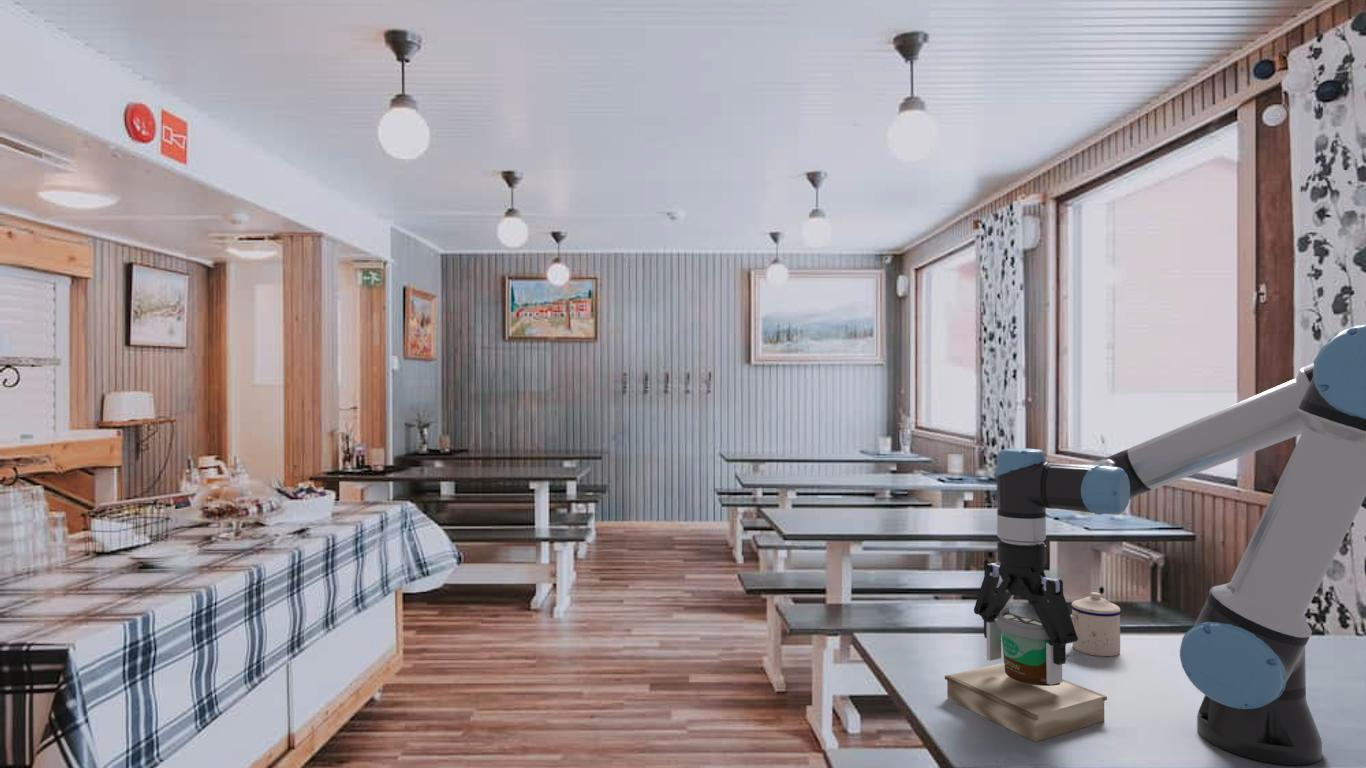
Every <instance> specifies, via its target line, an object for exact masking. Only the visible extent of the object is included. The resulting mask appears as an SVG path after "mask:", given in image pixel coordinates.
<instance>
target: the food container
mask: <svg viewBox="0 0 1366 768" xmlns="http://www.w3.org/2000/svg"><path fill="white" fill-rule="evenodd" d="M996 620H997V623H996V625H997V627H998V628H1000V629H1001V647H1002V654H1003V655H1002V657H1003V663H1004V665H1005V673H1006V674H1007V676H1009V677H1010V678H1012V679H1014V680H1017V681H1020V682H1023V683H1027V684H1032V685H1041V686H1053V685H1060V683H1056V684H1053V685H1050V684H1047V666H1046V643H1048V642H1051V641H1050V639H1049V637H1048V635H1047V633H1046V631H1045V629H1044V627H1043V625H1042V623H1041V621H1040V620H1038V619H1035V618H1031V617H1024V616H1020V615H1017V614H1014V613H1011V612H1010V608H1009V607H1004V608H1003V609H1002V610H1001V611H1000V613H999V615H998V618H997V619H996ZM1056 635H1057V634H1056Z"/></svg>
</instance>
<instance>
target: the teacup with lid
mask: <svg viewBox="0 0 1366 768" xmlns="http://www.w3.org/2000/svg"><path fill="white" fill-rule="evenodd" d="M1070 608H1071V612H1072V613H1071V614H1070V616H1071V619H1072V622H1073V625H1074V628H1075V632H1076V635H1077V638H1078V640H1077V641H1076V642H1072V647H1073V648H1074V649H1075V650H1076V651H1079V652H1080V653H1083V654H1086V655H1091V656H1096V657H1104V656H1109V657H1114V655H1116V656H1118V655H1119V654H1120V653H1121V614H1122V611H1121V608H1120V606H1118V605H1117V604H1115V603H1112V602H1110V601H1109V600H1107V599H1105V598H1102V594H1101V593H1100V592H1096V591H1095V592H1094V591H1093V592H1090V593H1089V596H1086V597H1084V598H1081V599H1076V600H1074V601H1072V603H1071V605H1070ZM1117 654H1118V655H1117Z"/></svg>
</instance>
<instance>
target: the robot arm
mask: <svg viewBox="0 0 1366 768" xmlns="http://www.w3.org/2000/svg"><path fill="white" fill-rule="evenodd" d="M1318 351H1319V352H1317V354H1316V357H1315V359H1314V362H1313V363H1310V364H1308V365H1306V366H1303V367H1301V368H1300V369H1299V371H1298V375H1297V376H1296V377H1295V378H1293V379H1291V380H1289V381H1286V382H1283V383H1281V384H1279V385H1277V386H1274V387H1271V388H1269V389H1267V390H1264V391H1262V392H1261V393H1258V394H1255V395H1253V396H1250V397H1248V398H1245V399H1243V400H1241V401H1239V402H1237V403H1234V404H1232V405H1231V404H1230V405H1229V406H1227V407H1225V408H1222V409H1219V410H1217V411H1215V412H1213V413H1210V414H1208V415H1205V416H1203V417H1200V418H1198V419H1196V420H1193V421H1191V422H1188V423H1186V424H1184V425H1181V426H1179V427H1177V428H1174V429H1171V430H1170V431H1167V432H1165V433H1163V434H1160V435H1158V436H1155V437H1153V438H1150V439H1148V440H1145V441H1144V442H1141V443H1139V444H1136V445H1133V446H1131V447H1130V448H1127V449H1123V450H1122V451H1119V452H1117V453H1114V454H1112V455H1110V456H1107V457H1105V458H1102V459H1099V460H1096V461H1092V462H1086V463H1059V462H1058V463H1056V462H1051V461H1047V458H1046V453H1045V452H1044V450H1042V449H1037V448H1036V449H1035V448H1022V447H1018V448H1017V447H1016V448H1004V449H1003V448H1002V449H1001V450H1000V451H999V452H998V453H997V459H996V474H995V478H996V503H997V506H996V507H997V509H996V513H997V516H996V530H997V531H996V536H997V537H998V538H999V540H998V541H997V544H996V545H997V561H998V562H991V563H986V564H985V565H984V571H983V572H984V576H983V580H982V583H981V587H980V589H979V592H978V595H977V598H976V602H975V605H974V608H973V612H974V614H975V615H978V616H980V617H981V619H982V620H983V635H984V638H985V639H986V660H988V661H995V660H999V659H1002V636H1001V629H1000V628H998V627H997V625H996V623H997V618H998V615H999V613H1000V611H1001V610H1002V609H1004V608H1006V606H1007V604H1008V602H1009V600H1010V599H1011V598H1012V596H1018V597H1020V598H1022V599H1024V600H1027V602H1028V604H1030V605H1032V607H1033V610H1034V611H1035V613H1036V615H1037V617H1038V619H1039V621H1040V622H1041V623H1042V625H1043V627H1044V629H1045V631H1046V633H1047V635H1048V637H1049V639H1050V641H1051V642H1048V643H1046V666H1047V684H1050V685H1053V684H1056V683H1060V682H1062V679H1063V665H1064V664H1066V657H1067V656H1066V653H1067V652H1066V647H1067V644H1073V642H1076V641H1077V640H1078V638H1077V635H1076V632H1075V628H1074V625H1073V622H1072V619H1071V616H1070V615H1071V614H1070V610H1069V608H1068V607H1069V606H1068V605H1067V601H1066V598H1065V595H1064V581H1063V580H1062V579H1061V578H1060V577H1059V578H1057V577H1056V578H1050V577H1047V576H1046V574H1045V568H1046V565H1047V545H1046V544H1045V542H1044V541H1045V540H1046V539H1047V532H1046V531H1047V527H1046V521H1047V519H1046V518H1047V513H1046V512H1047V511H1046V509H1052V510H1054V509H1056V510H1064V511H1075V512H1082V513H1091V514H1095V515H1097V516H1098V515H1100V516H1101V515H1113V516H1114V515H1121V514H1123V513H1124V512H1125V511H1126V510H1127V507H1128V505H1129V502H1130V500H1131V499H1134V498H1135V497H1137V496H1140V495H1143V494H1145V493H1148V492H1150V491H1153V490H1156V489H1158V488H1161V487H1163V486H1166V485H1168V484H1172V483H1174V482H1177V481H1179V480H1183V479H1184V478H1188V477H1190V476H1192V475H1196V474H1199V473H1201V472H1204V471H1207V470H1210V469H1212V468H1214V467H1217V466H1220V465H1223V464H1225V463H1227V462H1230V461H1234V460H1235V459H1238V458H1241V457H1244V456H1246V455H1248V454H1249V455H1250V454H1252V453H1255V452H1257V451H1258V452H1259V451H1260V450H1262V449H1266V448H1268V447H1270V446H1273V445H1276V444H1279V443H1281V442H1282V443H1283V442H1284V441H1286V440H1291V439H1292V438H1295V437H1298V436H1300V437H1299V439H1298V441H1297V443H1296V445H1295V448H1294V449H1293V451H1292V453H1291V456H1290V458H1289V460H1288V462H1287V463H1286V466H1285V468H1284V470H1283V472H1282V474H1281V476H1280V478H1279V480H1278V483H1277V484H1276V487H1275V489H1274V491H1273V493H1272V494H1271V497H1270V498H1269V501H1268V503H1267V505H1266V507H1265V509H1264V511H1263V514H1262V515H1261V517H1260V520H1259V521H1258V523H1257V525H1256V528H1255V530H1254V532H1253V534H1252V536H1251V538H1250V540H1249V543H1248V545H1247V547H1246V548H1245V550H1244V553H1243V555H1242V556H1241V559H1240V561H1239V563H1238V564H1237V567H1236V569H1235V572H1234V573H1233V576H1232V577H1231V580H1230V581H1229V582H1228V583H1224V584H1219V585H1214V586H1212V587H1211V588H1210V590H1209V594H1208V597H1207V598H1206V600H1205V603H1204V605H1203V606H1202V608H1201V611H1200V613H1199V615H1198V617H1197V619H1196V621H1195V623H1194V625H1193V626H1192V627H1190V628H1189V630H1188V631H1187V632H1185V633H1184V635H1183V637H1182V639H1181V643H1180V647H1179V648H1180V649H1179V658H1180V663H1181V667H1182V669H1183V671H1184V673H1185V676H1187V678H1188V680H1189V681H1190V682H1191V683H1192V684H1193V686H1194V687H1195V688H1196V689H1197V690H1198V691H1199V692H1201V693H1202V694H1203V695H1204V696H1203V700H1202V701H1201V705H1200V706H1199V709H1198V711H1197V715H1196V729H1197V732H1198V733H1199V735H1200V736H1201V737H1202V738H1203V739H1205V740H1206V741H1207V742H1209V743H1210V744H1212V745H1214V746H1216V747H1218V748H1220V749H1222V750H1224V751H1227V752H1229V753H1232V754H1234V755H1238V756H1241V757H1243V758H1248V759H1250V760H1255V761H1259V762H1264V763H1271V764H1277V765H1286V766H1288V765H1289V766H1307V765H1311V764H1316V763H1318V762H1319V761H1321V760H1322V757H1323V742H1322V737H1321V734H1320V732H1319V729H1318V727H1317V725H1316V722H1315V720H1314V718H1313V717H1314V716H1313V715H1312V711H1311V710H1310V707H1309V704H1308V702H1307V693H1306V692H1307V691H1306V688H1307V687H1306V685H1307V681H1306V679H1307V678H1306V676H1307V675H1306V674H1307V673H1306V672H1307V671H1306V670H1307V669H1306V645H1307V644H1308V641H1309V639H1310V637H1311V636H1312V634H1313V631H1312V628H1311V627H1310V624H1309V623H1308V621H1307V619H1308V618H1307V616H1306V612H1307V610H1308V609H1309V607H1310V605H1311V602H1312V601H1313V599H1314V596H1315V595H1316V593H1317V591H1318V589H1319V587H1321V583H1322V581H1323V579H1324V577H1325V576H1326V574H1327V571H1328V569H1329V568H1330V566H1331V564H1332V562H1333V560H1334V559H1335V556H1336V554H1337V552H1338V550H1339V549H1340V546H1341V544H1342V543H1343V540H1344V539H1345V538H1346V536H1347V533H1348V531H1349V530H1350V527H1351V526H1352V524H1353V521H1354V520H1355V518H1356V516H1357V514H1358V512H1359V510H1360V508H1361V506H1362V504H1363V502H1364V500H1365V499H1366V322H1365V323H1361V324H1358V325H1354V326H1351V327H1348V328H1347V329H1344V330H1343V331H1340V332H1339V333H1337V334H1336V335H1334V336H1333V337H1332V338H1330V339H1329V340H1328V341H1327V342H1326V344H1324V345H1323V346H1322V347H1321V348H1320V349H1319V350H1318ZM999 563H1000V564H999ZM1000 578H1001V579H1002V581H1001V583H1000V584H999V581H1000ZM998 585H999V586H998ZM996 590H997V592H996ZM1056 634H1057V635H1056Z"/></svg>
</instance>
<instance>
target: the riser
mask: <svg viewBox="0 0 1366 768" xmlns="http://www.w3.org/2000/svg"><path fill="white" fill-rule="evenodd" d="M944 680H946V681H947V683H946V684H947V686H946V687H947V688H946V689H947V694H946V695H947V700H950V701H951V702H953V703H956V704H957V705H960V706H962V707H964V708H966V709H967V710H970V711H972V712H973V713H976V714H978V715H980V716H982V717H984V718H985V719H989V720H990V721H992V722H994V723H996V724H998V725H1000V726H1002V727H1004V728H1007V729H1008V730H1011V731H1013V732H1014V733H1017V734H1019V735H1020V736H1023V737H1024V738H1027V739H1029V740H1031V741H1033V742H1035V743H1037V742H1040V741H1043V740H1046V739H1050V738H1053V737H1056V736H1060V735H1063V734H1067V733H1069V732H1073V731H1076V730H1079V729H1083V728H1086V727H1090V726H1093V725H1096V724H1100V723H1104V722H1105V701H1107V700H1108V697H1107V696H1108V695H1107V696H1106V695H1105V694H1102V693H1099V692H1097V691H1094V690H1092V689H1089V688H1086V687H1084V686H1081V685H1079V684H1076V683H1073V682H1071V681H1068V680H1066V679H1064V678H1062V682H1060V685H1053V686H1041V685H1032V684H1027V683H1023V682H1020V681H1017V680H1014V679H1012V678H1010V677H1009V676H1007V674H1006V673H1005V665H1004V662H1001V663H997V664H993V665H988V666H983V667H979V668H975V669H970V670H966V671H961V672H957V673H954V674H953V673H952V674H946V675H944Z"/></svg>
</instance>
